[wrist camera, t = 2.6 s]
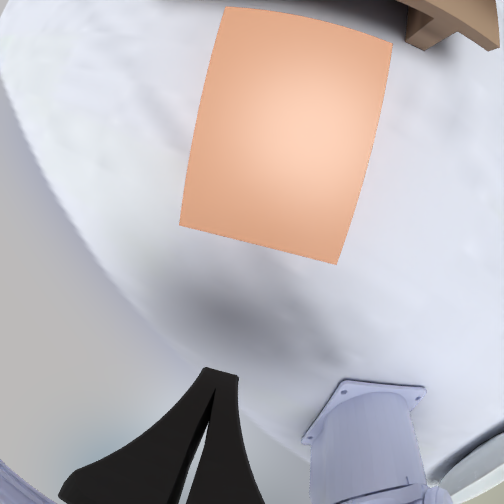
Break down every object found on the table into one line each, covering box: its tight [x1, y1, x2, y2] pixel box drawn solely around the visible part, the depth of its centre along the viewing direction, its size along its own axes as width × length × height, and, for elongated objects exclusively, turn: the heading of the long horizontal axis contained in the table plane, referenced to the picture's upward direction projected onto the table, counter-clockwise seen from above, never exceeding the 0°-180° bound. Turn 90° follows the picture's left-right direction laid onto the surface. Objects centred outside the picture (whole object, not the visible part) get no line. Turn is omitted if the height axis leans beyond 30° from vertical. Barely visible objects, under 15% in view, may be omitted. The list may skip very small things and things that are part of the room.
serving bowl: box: [438, 432, 504, 504], centre depth 19 cm, size 21×21×7 cm
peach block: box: [179, 7, 393, 265], centre depth 11 cm, size 10×7×3 cm
